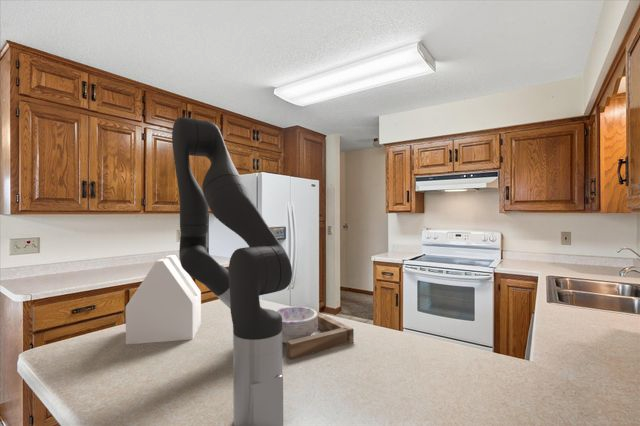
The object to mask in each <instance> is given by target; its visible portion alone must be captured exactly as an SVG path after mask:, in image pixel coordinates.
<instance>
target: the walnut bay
mask: <svg viewBox="0 0 640 426" xmlns="http://www.w3.org/2000/svg"><path fill="white" fill-rule="evenodd" d="M315 311H316V312H317V314H318V329H320V330H321V331H323V332H320V333H317V334H316V333H315V334H311V336H307V337H303V338H298V339H294V340H290V341H287V343H286V356H287V357H288V358H289V359H290V360H292V359H296V358H300V357H304V356H308V355H311V354H314V353H318V352H323V351H325V350H328V349H329V350H330V349H333V348H337V347H340V346H343V345H347V344H351V343H354V342H355V341H354V335H355V333H354V331H355V330H354V328H352V327H351V326H349V325H346V324H344V323H342V322H340V321H337V320H336V319H333V318H331V317H329V316H327V315H326V314H323V313H322V312H319V311H317V310H315Z"/></svg>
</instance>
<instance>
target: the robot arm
mask: <svg viewBox="0 0 640 426" xmlns="http://www.w3.org/2000/svg"><path fill="white" fill-rule="evenodd" d="M171 142H172V144H171V145H172V153H173V161H174V169H175V175H176V181H177V187H178V189H177V190H178V196H179V230H180V231H179V232H180V235H179V236H180V240H179V251H178V252H179V255H178V257H179V261H180V263H181V266H182V268H183V269H184V270H185V271H186V272H187V273H188V274H189V275H190V277H191V278H192V279H194V280H196V281H198V282H200V284H202V285H204V286H205V287H206V288H207V289H208V290H209V291H211V293H213V294H214V296H216V297H217V298H218V299H219V301H221V302H222V303H223V304H224V305H225V306H226V307H228V308H229V309H230V317H231V323H232V333H233V334H232V335H233V337H232V338H233V339H232V342H233V346H232V347H233V349H232V352H233V353H232V354H233V355H232V356H233V357H232V359H233V360H232V361H233V362H232V363H233V366H232V367H233V368H232V370H233V371H232V372H233V374H232V377H233V378H232V379H233V381H232V384H233V386H232V387H233V393H232V394H233V398H232V399H233V401H232V402H233V410H232V411H233V426H284V377H283V342H282V316H281V315H280V314H279V313H278V312H276V311H275V310H274V309H269V308H263V307H262V306H261V302H260V301H261V300H260V296H263V295H268V294H274V293H277V292H280V291H283V290H285V289H287V288H288V287H290V284H291V282H292V279H293V269H292V265H291V260H290V257H289V256H288V253H287V252H286V250H285V248H284V246H283V245H282V244H281V242H280V241H279V240H278V238H277V236H276V235H275V234H274V233H273V231H272V230H271V228H270V227H269V225H268V223H267V222H266V221H265V219H264V218H263V216H262V213H261V212H260V211H259V209H258V207H257V205H256V204H255V202H254V200H253V199H252V196H251V194H250V192H249V189H248V188H247V186H246V183H245V182H244V180H243V178H242V177H241V175H240V174H239V172H238V170H237V168H236V166H235V164H234V162H233V160H232V158H231V156H230V153H229V151H228V148H227V146H226V143H225V140H224V137H223V135H222V132H221V131H220V128H219V127H218V125H216V124H215V123H214V122H212V121H209V120H204V119H199V118H198V119H197V118H191V117H184V116H183V117H182V116H181V117H178V118H176V120H175V121H174V123H173V125H172V132H171ZM190 156H191V157H192V156H194V157H205V158H207V159H208V160H209V162H210V166H209V167H208V169H207V171H206V173H205V176H204V178H203V180H202V185H200V184H199V183H198V181H197V180H196V177H195V175H194V173H193V171H192V167H191V162H190ZM201 186H202V187H201ZM209 210H210V212H211V214H212V215H213V216H214V218H215V219H217V220H218V222H220V223H221V224H223V225H224V226H226V228H228V229H229V230H230V231H232V232H234V233H235V234H236V235H238V236H239V237H240V238H241V239H242V240H243V241H244V242H245V244H247V246H248V247H247V246H246V247H240V248H236V249H235V250H234V251H233V252H232V254H231V256H230V258H229V263H228V269H227V267H225V266H224V265H222V264H219V262H217V261H216V259H214V258H213V257H212V256H211V255H210V254H209V253H208V251H207V234H208V230H209Z"/></svg>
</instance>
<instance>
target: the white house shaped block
mask: <svg viewBox="0 0 640 426" xmlns="http://www.w3.org/2000/svg"><path fill="white" fill-rule="evenodd" d="M201 324H202V292H201V289H200V288H199V287H198V286H197V284H196V282H195V281H194V280H193V277H192V276H190V275H189V274H188V273H187V272H186V271H185V270H184V269H183V268H182V266H181V263H180V259H178V256H177V255H176V254H168V255H167V256H164V257H163V258H160V259H158V260H156V261H155V262H154V263H153V265H152V267H151V268H150V270H149V271H148V273H146V276H145V277H144V279H143V280H142V281H141V283H140V285H139V286H138V288H137V290H135V292H134V293H133V294H132V296H131V298H130V299H129V301H128V303H127V304H126V305H125V345H134V344H145V343H147V344H149V343H162V342H177V341H187V340H188V341H189V340H193V339H194V338H195V337H196V334H197V331H198V330H199V328H200V327H201Z"/></svg>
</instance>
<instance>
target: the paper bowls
mask: <svg viewBox="0 0 640 426" xmlns="http://www.w3.org/2000/svg"><path fill="white" fill-rule="evenodd" d="M274 311H276V312H278V313H279V314H280V315H281V316H282V343H285V344H287V341H290V340H294V339H298V338H303V337H307V336H311V335H313V334H314V333H316V332H317V331H318V329H319V328H318V314H317V312H318V311H317V310H315V309H314V308H311V307H306V306H287V307H281V308H278V309H275V310H274ZM316 311H317V312H316Z"/></svg>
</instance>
